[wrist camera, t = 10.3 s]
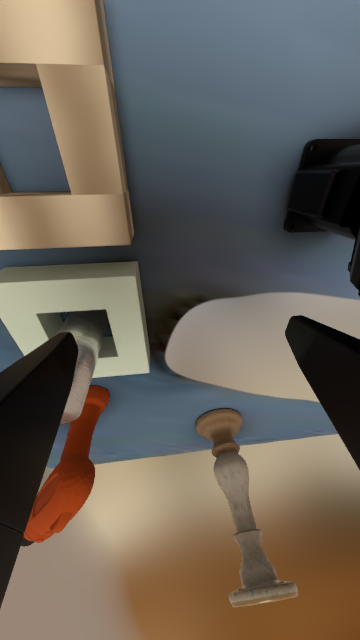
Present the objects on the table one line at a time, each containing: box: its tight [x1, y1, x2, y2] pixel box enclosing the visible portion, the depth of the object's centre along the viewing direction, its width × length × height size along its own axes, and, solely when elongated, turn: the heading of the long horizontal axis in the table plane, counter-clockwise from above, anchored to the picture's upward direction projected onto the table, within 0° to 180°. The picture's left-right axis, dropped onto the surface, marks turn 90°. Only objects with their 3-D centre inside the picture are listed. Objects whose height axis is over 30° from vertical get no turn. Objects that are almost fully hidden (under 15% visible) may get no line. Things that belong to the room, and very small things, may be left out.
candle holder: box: [196, 409, 298, 607], centre depth 31 cm, size 9×9×20 cm
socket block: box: [0, 0, 134, 250], centre depth 13 cm, size 12×12×4 cm
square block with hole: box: [0, 261, 150, 378], centre depth 21 cm, size 12×12×4 cm
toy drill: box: [21, 385, 110, 546], centre depth 27 cm, size 5×19×15 cm, turn 140°
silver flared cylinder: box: [57, 309, 109, 424], centre depth 18 cm, size 4×4×11 cm
